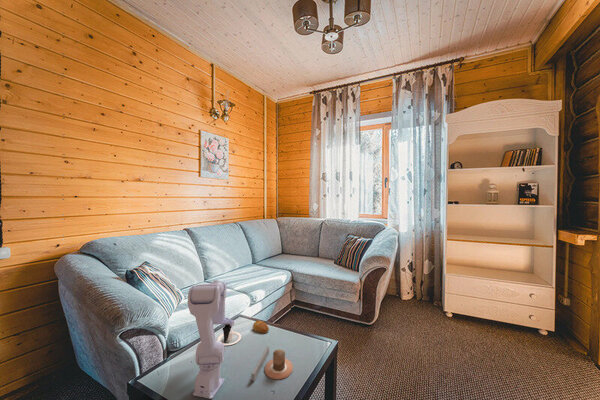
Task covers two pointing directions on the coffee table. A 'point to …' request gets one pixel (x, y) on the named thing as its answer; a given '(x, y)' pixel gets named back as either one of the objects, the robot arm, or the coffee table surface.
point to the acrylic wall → (260, 363)
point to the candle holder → (230, 337)
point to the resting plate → (278, 374)
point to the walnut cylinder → (278, 360)
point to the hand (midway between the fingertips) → (218, 339)
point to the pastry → (260, 326)
